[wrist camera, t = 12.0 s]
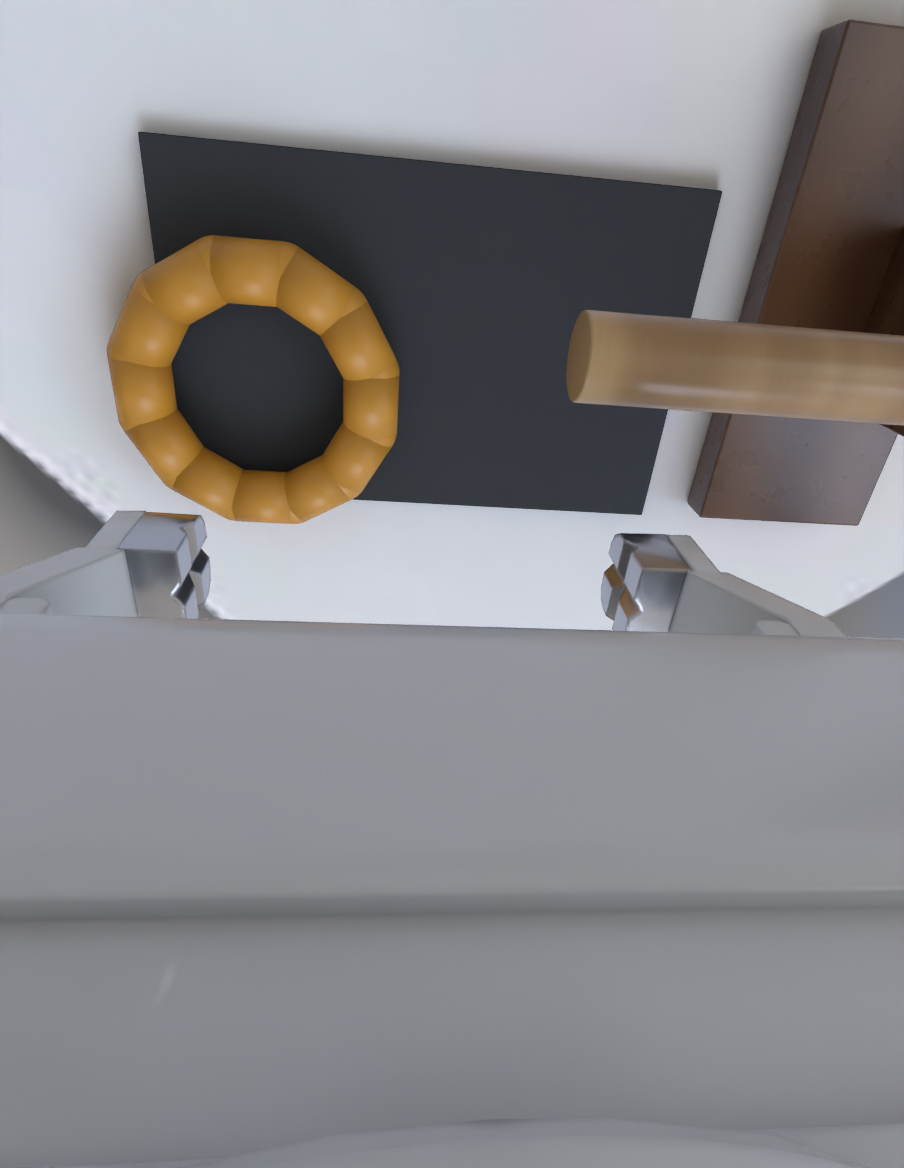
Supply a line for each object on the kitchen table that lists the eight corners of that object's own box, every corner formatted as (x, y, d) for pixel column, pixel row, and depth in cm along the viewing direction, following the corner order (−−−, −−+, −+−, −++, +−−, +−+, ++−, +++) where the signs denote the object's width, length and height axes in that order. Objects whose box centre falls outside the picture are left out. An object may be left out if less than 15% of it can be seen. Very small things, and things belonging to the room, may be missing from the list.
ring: (392, 537, 26) (127, 524, 25) (393, 516, 28) (145, 503, 27) (404, 254, 21) (73, 225, 20) (404, 249, 23) (99, 222, 22)
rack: (1026, 55, 21) (1768, -106, 10) (839, 511, 29) (1120, 721, 18) (536, -7, 20) (719, -285, 8) (480, 492, 28) (532, 707, 16)
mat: (187, 487, 27) (183, 490, 27) (141, 132, 21) (137, 131, 21) (639, 511, 29) (642, 515, 28) (718, 190, 23) (723, 190, 22)
